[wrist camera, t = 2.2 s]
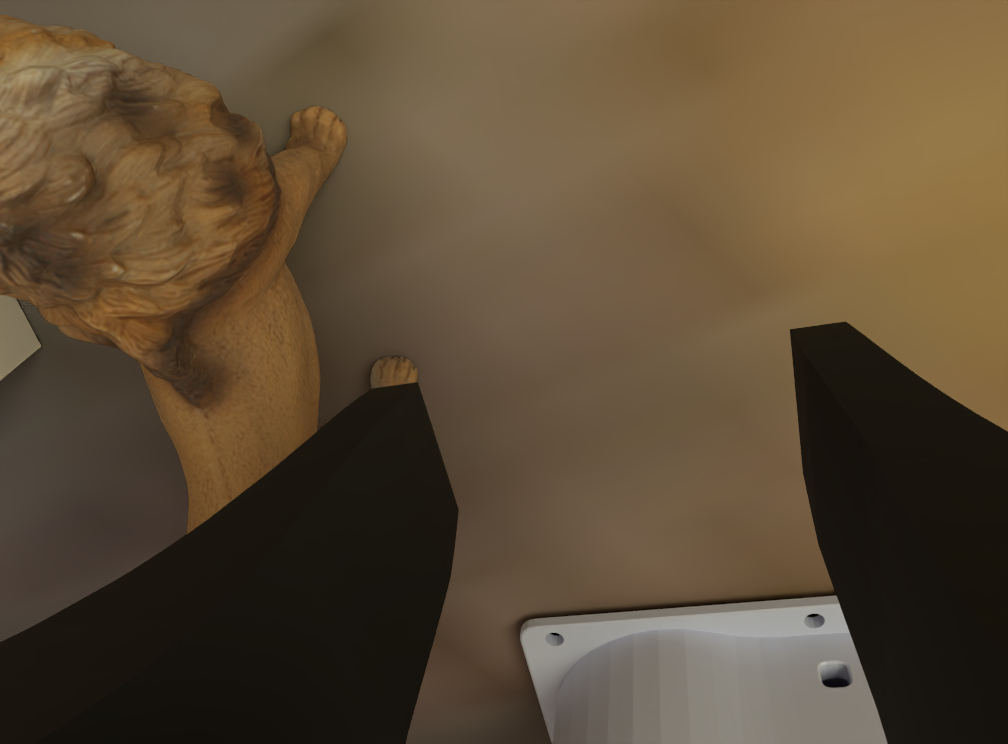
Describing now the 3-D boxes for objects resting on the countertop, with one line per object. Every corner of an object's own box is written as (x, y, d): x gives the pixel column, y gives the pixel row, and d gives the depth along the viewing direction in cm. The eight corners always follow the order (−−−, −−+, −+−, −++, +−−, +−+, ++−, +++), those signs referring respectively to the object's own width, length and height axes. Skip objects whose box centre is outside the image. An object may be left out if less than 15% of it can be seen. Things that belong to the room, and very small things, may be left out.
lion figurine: (53, 8, 19) (-350, 119, 11) (276, -78, 17) (-10, -19, 10) (330, 540, 25) (195, 841, 18) (508, 508, 24) (447, 821, 16)
